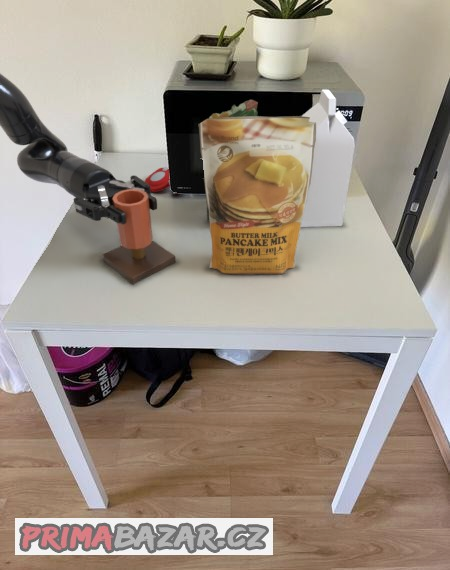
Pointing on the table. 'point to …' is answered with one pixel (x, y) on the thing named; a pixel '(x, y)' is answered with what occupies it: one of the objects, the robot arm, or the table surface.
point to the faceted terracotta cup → (134, 218)
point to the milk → (328, 165)
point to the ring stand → (139, 261)
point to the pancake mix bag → (256, 189)
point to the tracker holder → (159, 180)
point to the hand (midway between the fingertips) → (140, 211)
